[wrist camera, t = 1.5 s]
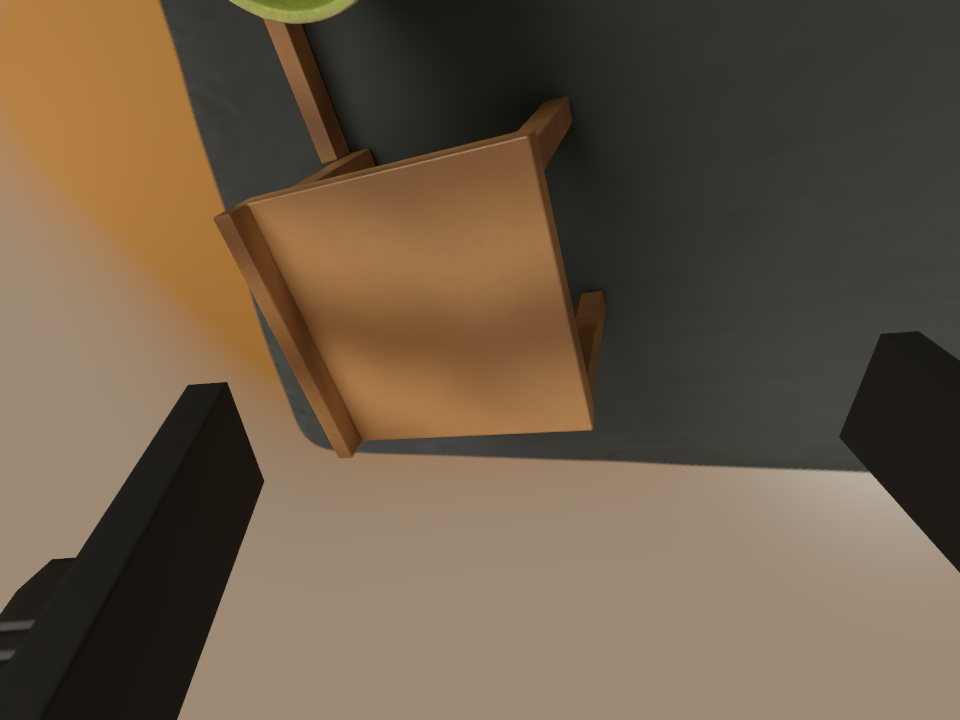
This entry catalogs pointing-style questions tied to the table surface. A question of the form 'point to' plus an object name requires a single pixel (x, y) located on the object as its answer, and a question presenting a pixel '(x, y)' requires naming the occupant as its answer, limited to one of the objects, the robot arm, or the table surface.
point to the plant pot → (295, 9)
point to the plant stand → (420, 281)
